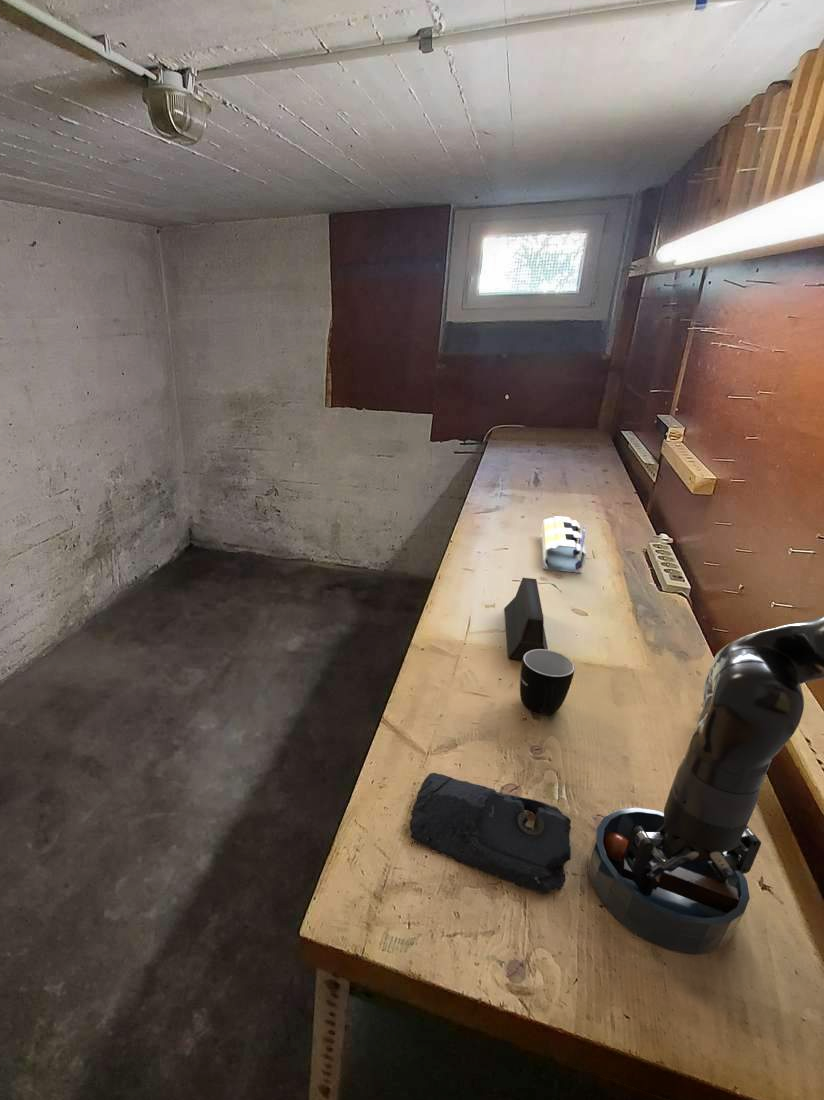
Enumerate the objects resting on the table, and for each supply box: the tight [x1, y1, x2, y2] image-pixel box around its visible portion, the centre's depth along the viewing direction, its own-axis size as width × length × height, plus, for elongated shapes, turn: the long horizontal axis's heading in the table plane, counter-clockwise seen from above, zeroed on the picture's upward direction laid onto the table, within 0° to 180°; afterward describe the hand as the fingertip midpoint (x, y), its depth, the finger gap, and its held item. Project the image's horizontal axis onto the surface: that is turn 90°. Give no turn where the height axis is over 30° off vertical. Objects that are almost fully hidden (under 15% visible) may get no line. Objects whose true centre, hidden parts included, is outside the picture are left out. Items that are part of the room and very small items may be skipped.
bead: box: [603, 833, 628, 861], centre depth 78 cm, size 4×4×4 cm
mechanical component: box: [696, 667, 713, 726], centre depth 101 cm, size 3×10×10 cm, turn 145°
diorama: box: [540, 515, 587, 574], centre depth 169 cm, size 25×10×13 cm, turn 159°
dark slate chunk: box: [409, 772, 572, 894], centre depth 84 cm, size 15×22×5 cm
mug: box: [519, 649, 576, 716], centre depth 106 cm, size 12×9×10 cm
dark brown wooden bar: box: [621, 852, 739, 913], centre depth 72 cm, size 12×3×3 cm, turn 61°
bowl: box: [587, 807, 751, 955], centre depth 74 cm, size 17×17×6 cm
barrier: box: [503, 577, 549, 661], centre depth 130 cm, size 24×9×10 cm, turn 162°
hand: (675, 888), depth 72 cm, fingers closed on dark brown wooden bar, 8 cm apart
